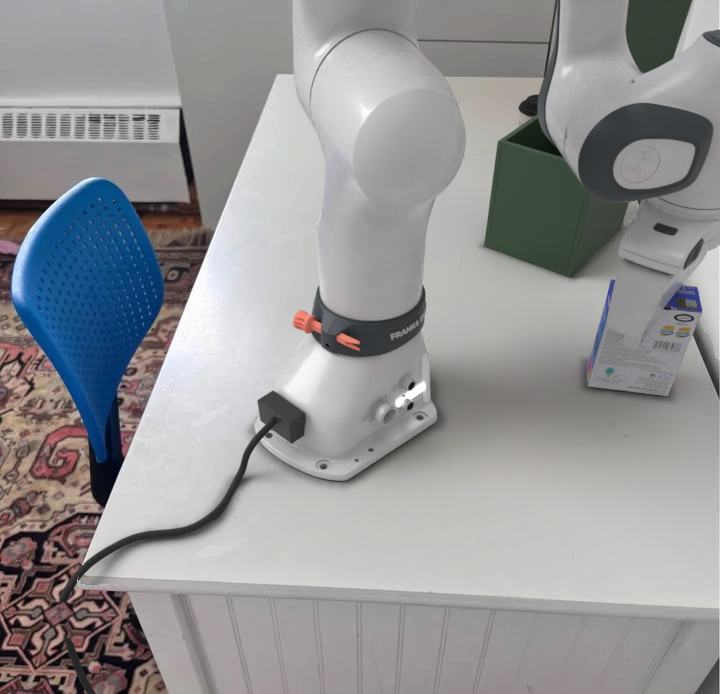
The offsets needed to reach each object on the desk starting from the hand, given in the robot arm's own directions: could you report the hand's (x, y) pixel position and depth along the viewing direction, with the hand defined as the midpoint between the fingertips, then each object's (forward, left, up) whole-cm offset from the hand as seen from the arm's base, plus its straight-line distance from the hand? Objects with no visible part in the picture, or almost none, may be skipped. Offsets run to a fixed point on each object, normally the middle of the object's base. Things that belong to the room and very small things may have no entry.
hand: (645, 327), depth 83 cm
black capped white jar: (+47, +39, -8) cm, 61 cm away
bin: (+25, +23, -8) cm, 35 cm away
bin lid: (+35, +23, +18) cm, 45 cm away
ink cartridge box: (0, 0, -8) cm, 8 cm away
